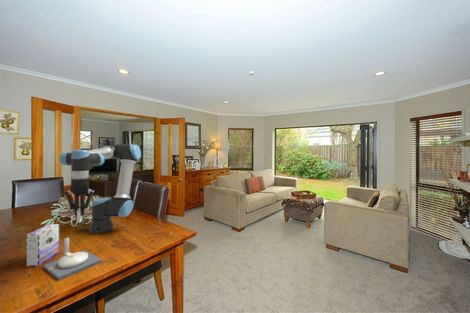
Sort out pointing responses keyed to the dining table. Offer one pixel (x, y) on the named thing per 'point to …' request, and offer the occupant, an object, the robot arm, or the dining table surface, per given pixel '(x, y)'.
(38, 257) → the candy box
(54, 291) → the dining table surface
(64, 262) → the dial
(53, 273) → the board
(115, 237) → the dining table surface
